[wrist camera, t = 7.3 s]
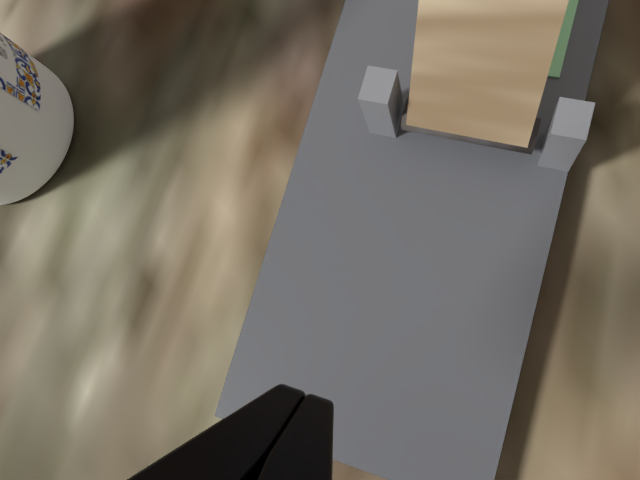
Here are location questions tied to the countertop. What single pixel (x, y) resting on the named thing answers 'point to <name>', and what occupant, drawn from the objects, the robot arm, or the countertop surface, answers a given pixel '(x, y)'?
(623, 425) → the countertop surface
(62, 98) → the bath foam
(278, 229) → the base
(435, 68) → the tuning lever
